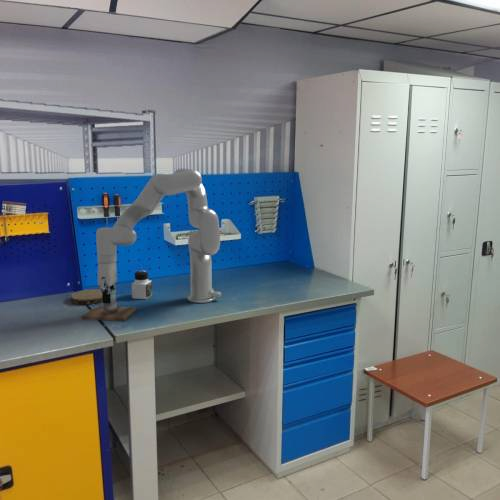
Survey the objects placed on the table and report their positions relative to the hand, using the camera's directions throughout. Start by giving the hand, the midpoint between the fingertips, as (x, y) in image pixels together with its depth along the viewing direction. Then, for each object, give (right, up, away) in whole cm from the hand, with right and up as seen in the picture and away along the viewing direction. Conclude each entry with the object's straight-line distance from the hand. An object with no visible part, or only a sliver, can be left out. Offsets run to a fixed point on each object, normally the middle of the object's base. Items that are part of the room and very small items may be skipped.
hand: (109, 300), depth 212 cm
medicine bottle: (+8, -1, +26) cm, 27 cm away
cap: (0, -1, 0) cm, 1 cm away
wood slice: (-15, -2, +21) cm, 26 cm away
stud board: (0, -6, +1) cm, 6 cm away
